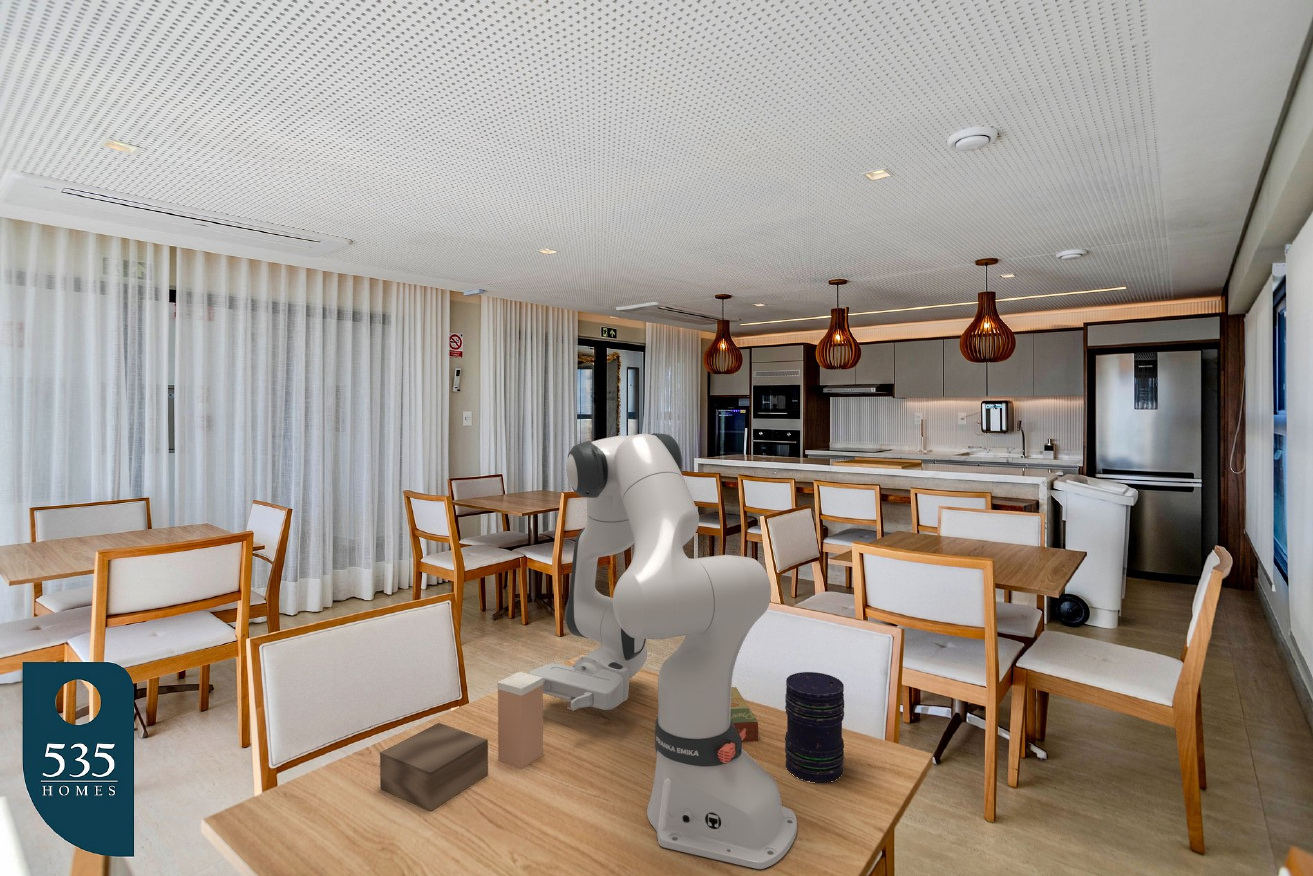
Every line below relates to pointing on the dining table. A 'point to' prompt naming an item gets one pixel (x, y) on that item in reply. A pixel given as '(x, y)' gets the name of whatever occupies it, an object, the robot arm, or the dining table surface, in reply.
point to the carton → (743, 716)
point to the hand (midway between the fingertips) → (549, 700)
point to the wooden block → (433, 765)
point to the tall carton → (520, 719)
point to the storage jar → (814, 726)
